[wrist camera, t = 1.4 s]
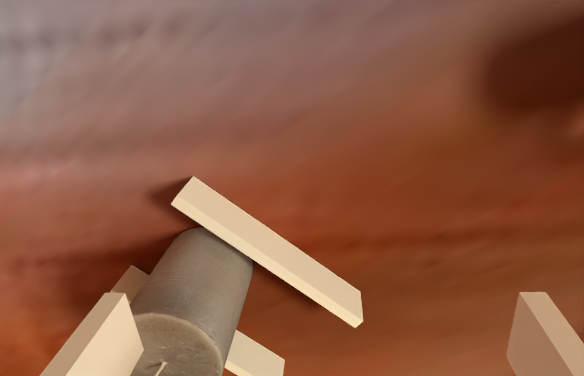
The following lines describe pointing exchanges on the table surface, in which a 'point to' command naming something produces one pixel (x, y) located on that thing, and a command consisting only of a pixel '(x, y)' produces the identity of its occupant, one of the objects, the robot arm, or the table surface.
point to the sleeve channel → (267, 252)
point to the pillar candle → (191, 306)
